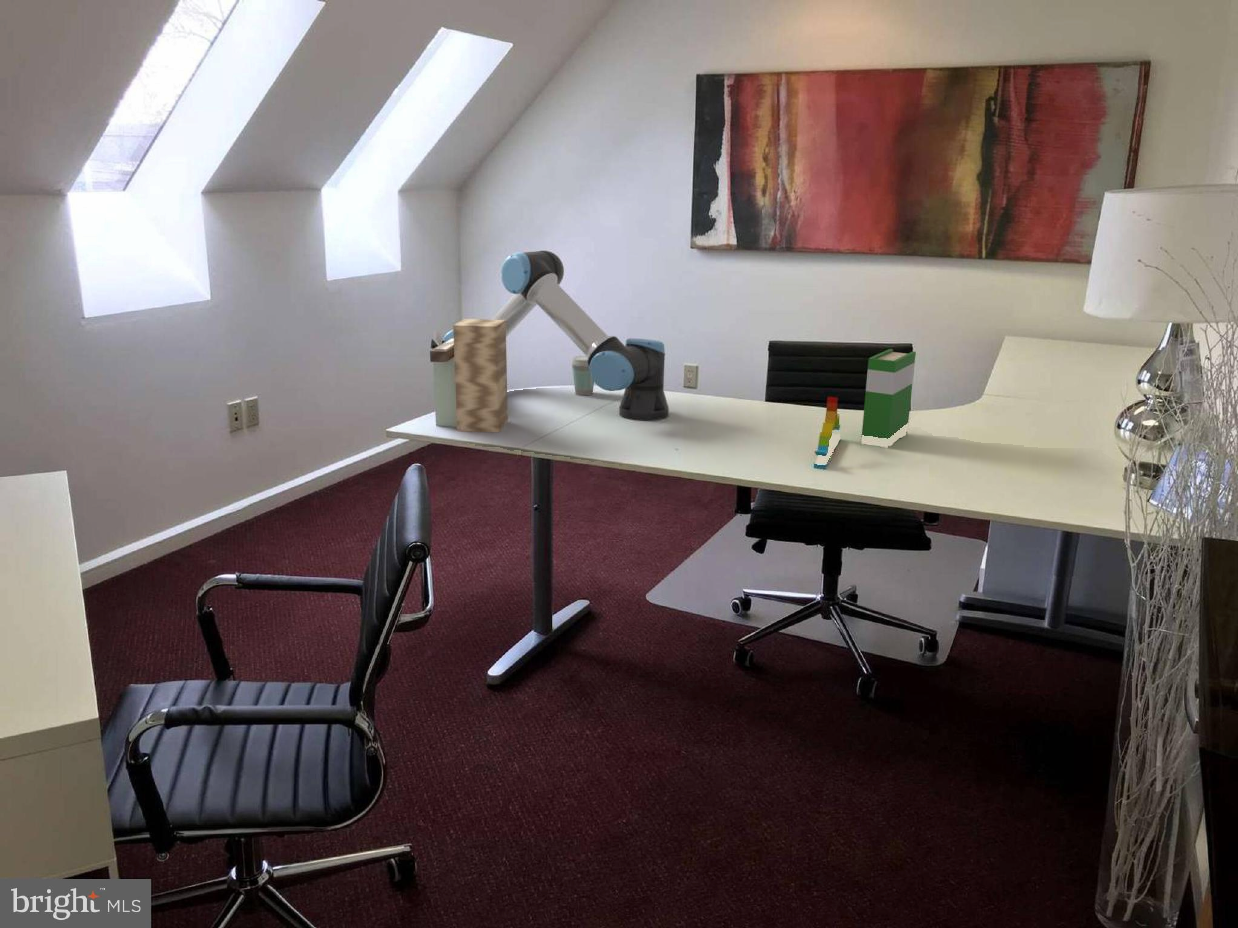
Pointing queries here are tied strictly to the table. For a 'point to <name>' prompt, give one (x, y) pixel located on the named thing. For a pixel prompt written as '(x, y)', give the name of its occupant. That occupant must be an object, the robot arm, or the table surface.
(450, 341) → the domino case
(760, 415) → the table surface
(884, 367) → the hardback book
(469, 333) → the oak stand
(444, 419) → the green pedestal
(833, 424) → the chart
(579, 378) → the coffee cup
